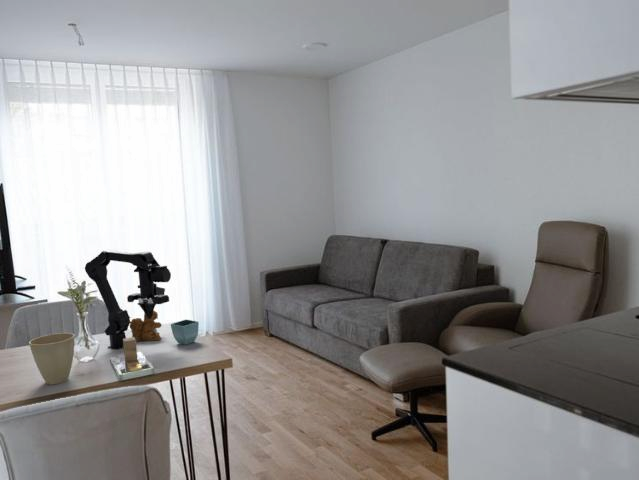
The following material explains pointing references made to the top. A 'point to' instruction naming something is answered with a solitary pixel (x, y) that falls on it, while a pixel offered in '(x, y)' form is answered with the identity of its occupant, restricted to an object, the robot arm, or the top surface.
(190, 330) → the flower pot
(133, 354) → the brown block
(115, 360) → the slot bed
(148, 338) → the stuffed squirrel
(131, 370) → the yellow small block
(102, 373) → the top surface
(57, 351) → the plant pot
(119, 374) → the tray
